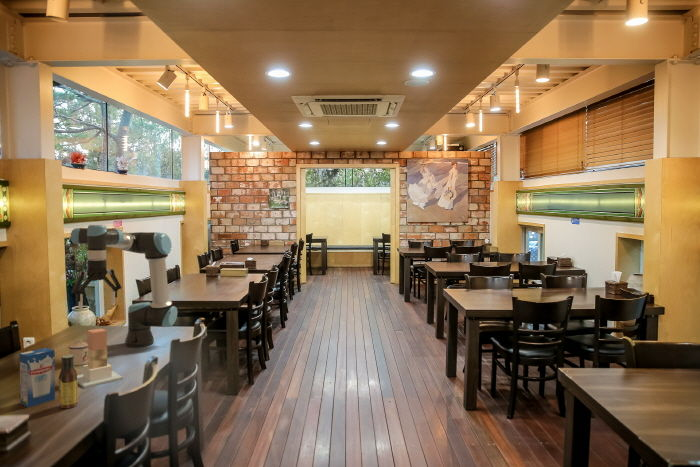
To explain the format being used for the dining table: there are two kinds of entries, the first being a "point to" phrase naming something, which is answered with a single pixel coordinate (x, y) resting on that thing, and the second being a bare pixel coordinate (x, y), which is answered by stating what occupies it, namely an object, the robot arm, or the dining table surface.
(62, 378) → the sauce bottle
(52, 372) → the milk carton
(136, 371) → the dining table surface
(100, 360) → the maple block
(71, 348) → the teacup with lid
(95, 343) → the terracotta block
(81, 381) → the base
